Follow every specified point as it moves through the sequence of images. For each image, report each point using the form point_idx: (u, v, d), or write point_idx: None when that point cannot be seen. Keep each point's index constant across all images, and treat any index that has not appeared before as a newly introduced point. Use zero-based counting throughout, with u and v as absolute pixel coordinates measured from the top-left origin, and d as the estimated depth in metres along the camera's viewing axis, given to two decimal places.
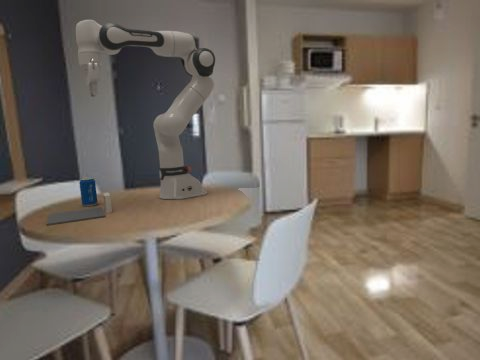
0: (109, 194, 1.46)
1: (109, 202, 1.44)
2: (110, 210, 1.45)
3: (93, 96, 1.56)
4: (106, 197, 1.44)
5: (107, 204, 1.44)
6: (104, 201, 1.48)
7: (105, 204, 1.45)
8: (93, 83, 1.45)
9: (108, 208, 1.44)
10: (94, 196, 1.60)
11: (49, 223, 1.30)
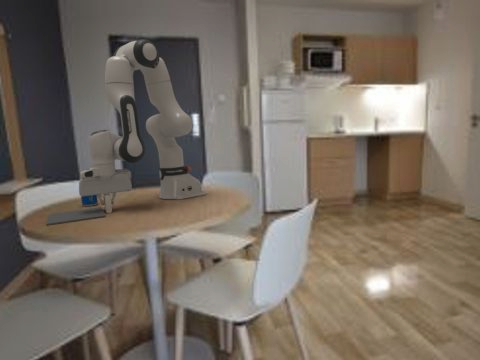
0: (109, 194, 1.46)
1: (109, 202, 1.44)
2: (110, 210, 1.45)
3: (104, 204, 1.48)
4: (106, 197, 1.44)
5: (107, 204, 1.44)
6: None
7: (105, 204, 1.45)
8: (115, 193, 1.48)
9: (108, 208, 1.44)
10: (94, 196, 1.60)
11: (49, 223, 1.30)
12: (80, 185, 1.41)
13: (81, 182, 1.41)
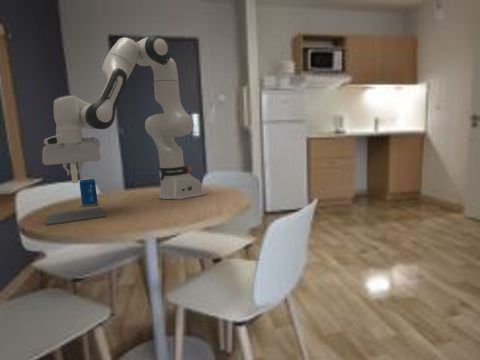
0: (75, 163, 1.38)
1: (75, 171, 1.36)
2: (76, 180, 1.36)
3: None
4: (71, 165, 1.35)
5: (73, 173, 1.36)
6: None
7: (71, 173, 1.36)
8: None
9: (73, 177, 1.36)
10: (94, 196, 1.60)
11: (49, 223, 1.30)
12: (43, 152, 1.32)
13: (44, 149, 1.32)
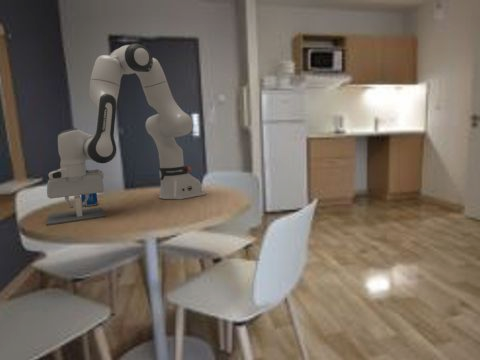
0: None
1: (79, 205, 1.38)
2: (80, 213, 1.38)
3: None
4: (76, 200, 1.37)
5: (77, 207, 1.38)
6: None
7: None
8: (88, 194, 1.42)
9: (78, 211, 1.38)
10: (94, 196, 1.60)
11: (49, 223, 1.30)
12: (48, 187, 1.34)
13: (49, 183, 1.34)
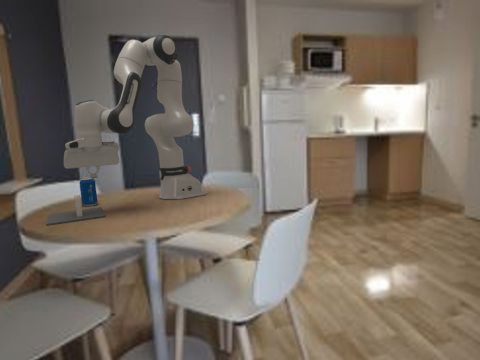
0: None
1: (79, 205, 1.38)
2: (80, 213, 1.38)
3: (93, 177, 1.43)
4: (76, 200, 1.37)
5: (77, 207, 1.38)
6: None
7: None
8: (99, 166, 1.43)
9: (78, 211, 1.38)
10: (94, 196, 1.60)
11: (49, 223, 1.30)
12: (65, 156, 1.35)
13: (66, 153, 1.35)
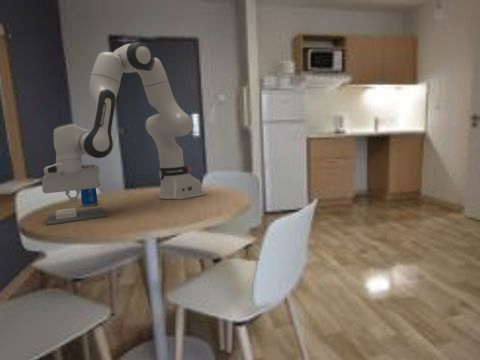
0: None
1: (64, 214, 1.36)
2: (73, 213, 1.37)
3: (73, 201, 1.40)
4: (57, 218, 1.35)
5: (66, 216, 1.36)
6: None
7: (67, 217, 1.38)
8: (79, 190, 1.41)
9: (70, 215, 1.37)
10: (94, 196, 1.60)
11: (49, 223, 1.30)
12: (43, 181, 1.33)
13: (44, 178, 1.33)
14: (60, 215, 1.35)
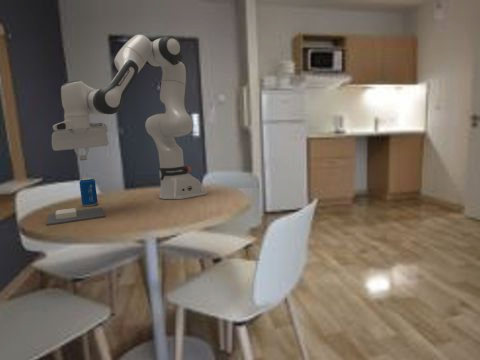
0: None
1: (64, 214, 1.36)
2: (73, 213, 1.37)
3: (83, 159, 1.42)
4: (57, 218, 1.35)
5: (66, 216, 1.36)
6: None
7: (67, 217, 1.38)
8: (88, 148, 1.42)
9: (70, 215, 1.37)
10: (94, 196, 1.60)
11: (49, 223, 1.30)
12: (52, 138, 1.34)
13: (53, 135, 1.34)
14: (60, 215, 1.35)
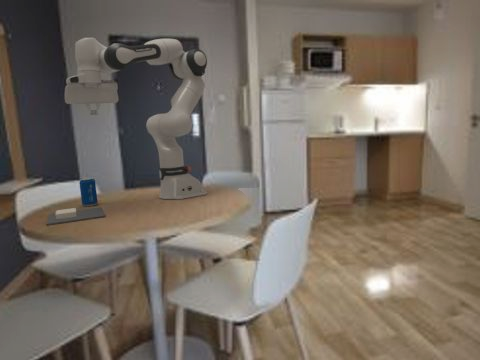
0: None
1: (64, 214, 1.36)
2: (73, 213, 1.37)
3: (93, 114, 1.47)
4: (57, 218, 1.35)
5: (66, 216, 1.36)
6: None
7: (67, 217, 1.38)
8: None
9: (70, 215, 1.37)
10: (94, 196, 1.60)
11: (49, 223, 1.30)
12: (66, 91, 1.40)
13: (66, 88, 1.40)
14: (60, 215, 1.35)
